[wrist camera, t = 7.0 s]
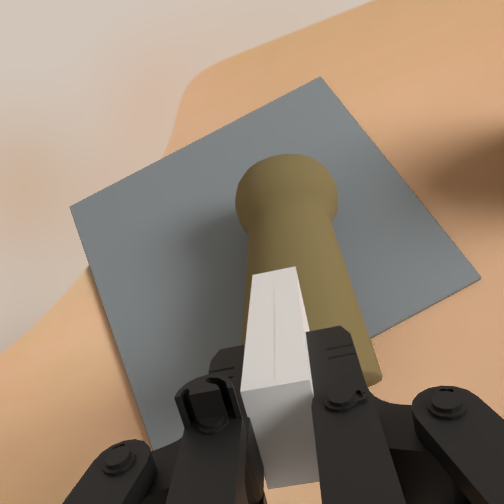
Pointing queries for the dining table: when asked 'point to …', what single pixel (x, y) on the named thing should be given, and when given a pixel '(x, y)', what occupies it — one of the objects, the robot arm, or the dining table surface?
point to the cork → (301, 244)
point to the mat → (236, 244)
